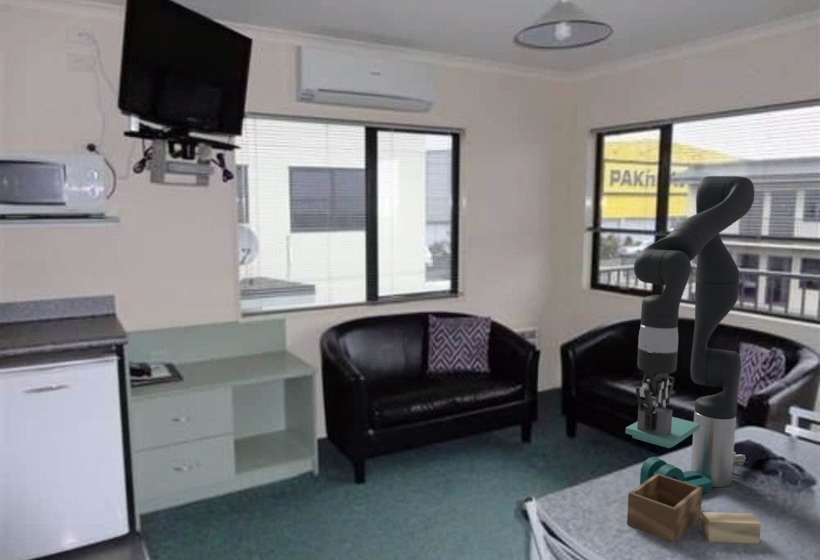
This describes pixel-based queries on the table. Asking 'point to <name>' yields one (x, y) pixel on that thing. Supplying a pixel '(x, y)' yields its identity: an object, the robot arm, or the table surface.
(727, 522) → the pale wooden block
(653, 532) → the open wooden box
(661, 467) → the bracket
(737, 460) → the caliper
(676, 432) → the lid
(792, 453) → the table surface
